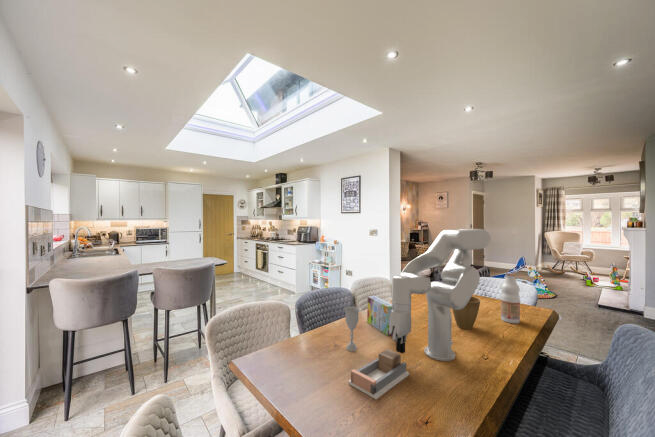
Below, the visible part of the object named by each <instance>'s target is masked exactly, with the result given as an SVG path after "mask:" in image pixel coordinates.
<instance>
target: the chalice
mask: <svg viewBox="0 0 655 437" xmlns="http://www.w3.org/2000/svg"><path fill="white" fill-rule="evenodd" d="M360 310H361V309H360V308H359V307H356V306H345V307H344V311H345V322H346V325H347V327H348V329H349V330H350V333H349V334H350V337H349V339H350V341H349V342H348V343H347V346H346V348H345V349H346V350H347V351H349V352H356V351H357V350H358V348H357V347H358V346H357V345H356V343H355V342H354V330H355V329H356V327H357V325H358V323H359V312H360Z"/></svg>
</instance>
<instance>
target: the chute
mask: <svg viewBox="0 0 655 437" xmlns="http://www.w3.org/2000/svg"><path fill="white" fill-rule="evenodd" d="M378 368H379V357H377V358H376V359H374V360H372V361H369V362H368V363H367V364H365V365H363V366H362V367H359V368H358V369H355V368H353V369H352V370H350V379H349V380H348V381H347V382H348V385H350V386H352V387H354V388H355V389H356V390H358V391H361V392H363V393H364V394H366V395H368V396H370V397H371V398H373V399H375V400H377V399H379V398H380V397H381V396H384V394H386V393H387V392H388V391H390V390H391V389H392V388H394V387H395V386H396V385H397V384H399V383H400V382H401V381H402V380H404V379H406V378H407V377H408V376H409V375H410V371H407V362H404V361H403V362H401V364H400V365H398V366H397V367H395V368H394V369H392V370H391V371H389V372H388V373H385V372H383V371H381V370H379V369H378Z"/></svg>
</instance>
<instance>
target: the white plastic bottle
mask: <svg viewBox="0 0 655 437" xmlns="http://www.w3.org/2000/svg"><path fill="white" fill-rule="evenodd" d="M500 288H501V295H500V319H501V320H502V321H503V322H504V323H505V322H506V323H508V324H519V323H520V322H521V299H520V298H521V297H520V287H519V284H518V283H517V281H516V274H515V273H512V272H505V278H504V280H503V283H502V285H501V287H500Z"/></svg>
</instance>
